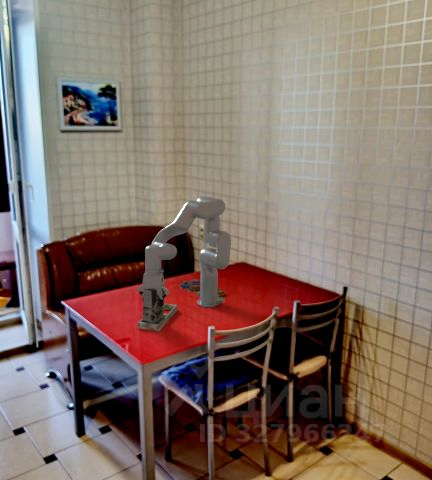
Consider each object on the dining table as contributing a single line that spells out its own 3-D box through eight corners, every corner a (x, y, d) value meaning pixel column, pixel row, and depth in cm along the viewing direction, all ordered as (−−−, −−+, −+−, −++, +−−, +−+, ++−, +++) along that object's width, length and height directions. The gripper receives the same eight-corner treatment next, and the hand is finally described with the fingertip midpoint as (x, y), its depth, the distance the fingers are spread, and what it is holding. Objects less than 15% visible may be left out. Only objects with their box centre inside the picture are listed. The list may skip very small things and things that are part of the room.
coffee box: (152, 323, 221) (153, 291, 217) (142, 319, 224) (143, 288, 221) (164, 318, 228) (165, 287, 225) (154, 314, 232) (155, 284, 228)
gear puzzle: (232, 294, 271) (232, 288, 271) (213, 301, 260) (213, 294, 259) (195, 282, 292) (195, 275, 291) (176, 287, 280) (176, 281, 279)
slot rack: (177, 310, 245) (177, 305, 244) (159, 331, 219) (159, 325, 218) (158, 308, 247) (158, 302, 246) (137, 328, 222) (137, 322, 221)
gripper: (172, 270, 222) (172, 304, 226) (139, 267, 226) (139, 300, 230) (167, 275, 215) (167, 310, 219) (133, 271, 219) (133, 305, 223)
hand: (153, 305), depth 224 cm, fingers closed on coffee box, 7 cm apart
